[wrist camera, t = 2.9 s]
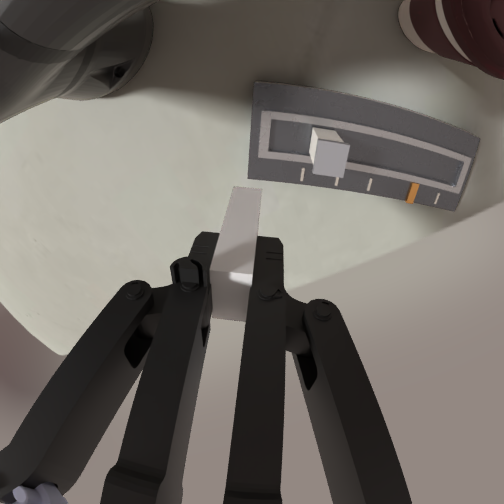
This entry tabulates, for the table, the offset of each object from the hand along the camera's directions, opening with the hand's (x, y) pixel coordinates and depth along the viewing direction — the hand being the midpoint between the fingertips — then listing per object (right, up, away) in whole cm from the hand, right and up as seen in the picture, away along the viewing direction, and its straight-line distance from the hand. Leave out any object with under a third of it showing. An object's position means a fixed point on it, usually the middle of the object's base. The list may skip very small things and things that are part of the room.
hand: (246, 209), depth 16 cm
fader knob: (+8, +9, +12) cm, 17 cm away
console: (+14, +10, +13) cm, 22 cm away
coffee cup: (+19, +23, +3) cm, 30 cm away
